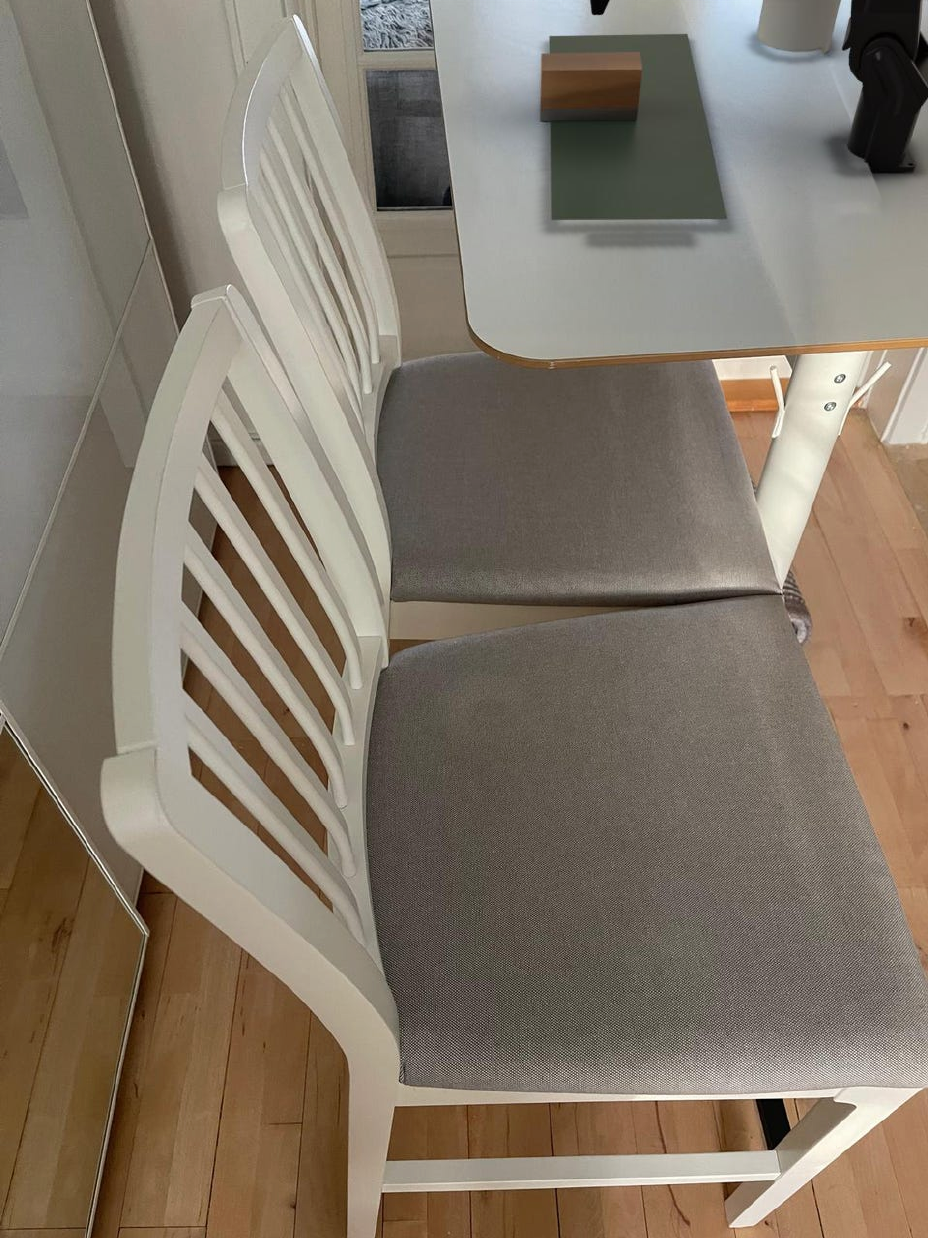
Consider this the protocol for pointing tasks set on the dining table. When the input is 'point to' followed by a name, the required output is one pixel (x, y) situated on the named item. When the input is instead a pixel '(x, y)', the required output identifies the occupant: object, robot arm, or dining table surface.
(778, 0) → the cup
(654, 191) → the chalkboard
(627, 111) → the eraser
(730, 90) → the dining table surface
